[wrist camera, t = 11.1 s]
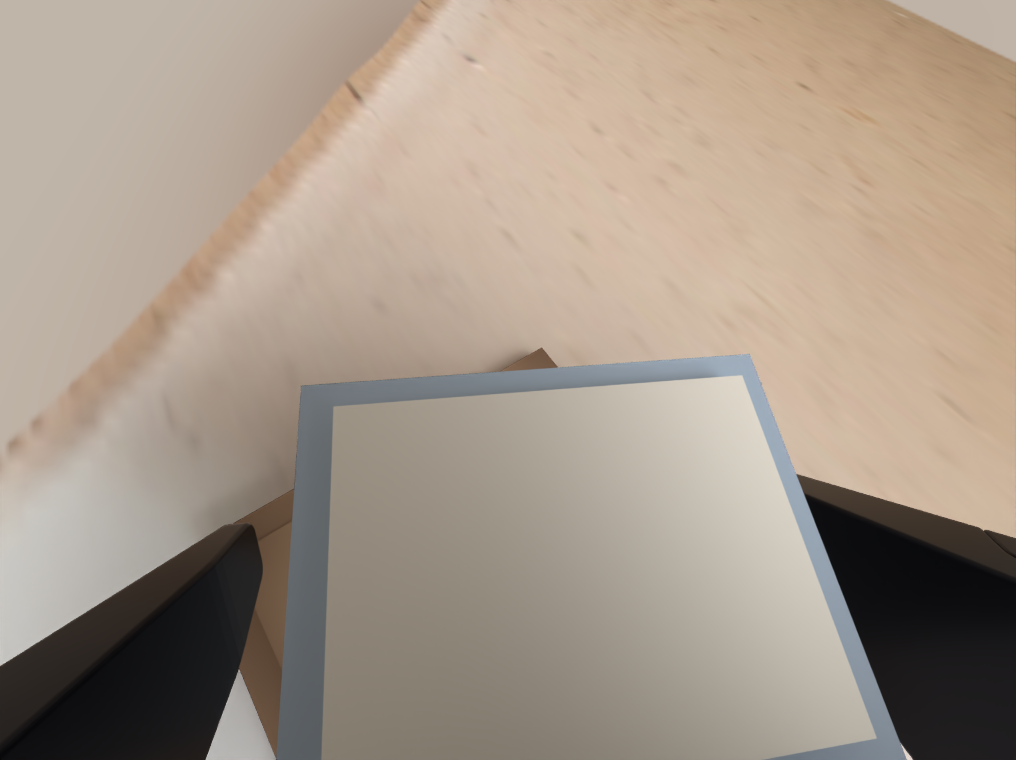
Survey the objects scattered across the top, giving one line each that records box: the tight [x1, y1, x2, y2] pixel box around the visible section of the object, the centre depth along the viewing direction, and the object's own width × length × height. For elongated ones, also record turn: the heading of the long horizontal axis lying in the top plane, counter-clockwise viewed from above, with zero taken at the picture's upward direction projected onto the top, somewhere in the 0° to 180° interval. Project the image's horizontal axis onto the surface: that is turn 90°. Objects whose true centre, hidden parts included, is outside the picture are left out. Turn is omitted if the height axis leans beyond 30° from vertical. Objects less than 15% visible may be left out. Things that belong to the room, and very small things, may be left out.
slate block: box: [276, 354, 907, 760], centre depth 10 cm, size 4×5×13 cm
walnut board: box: [233, 348, 558, 757], centre depth 16 cm, size 14×14×1 cm
